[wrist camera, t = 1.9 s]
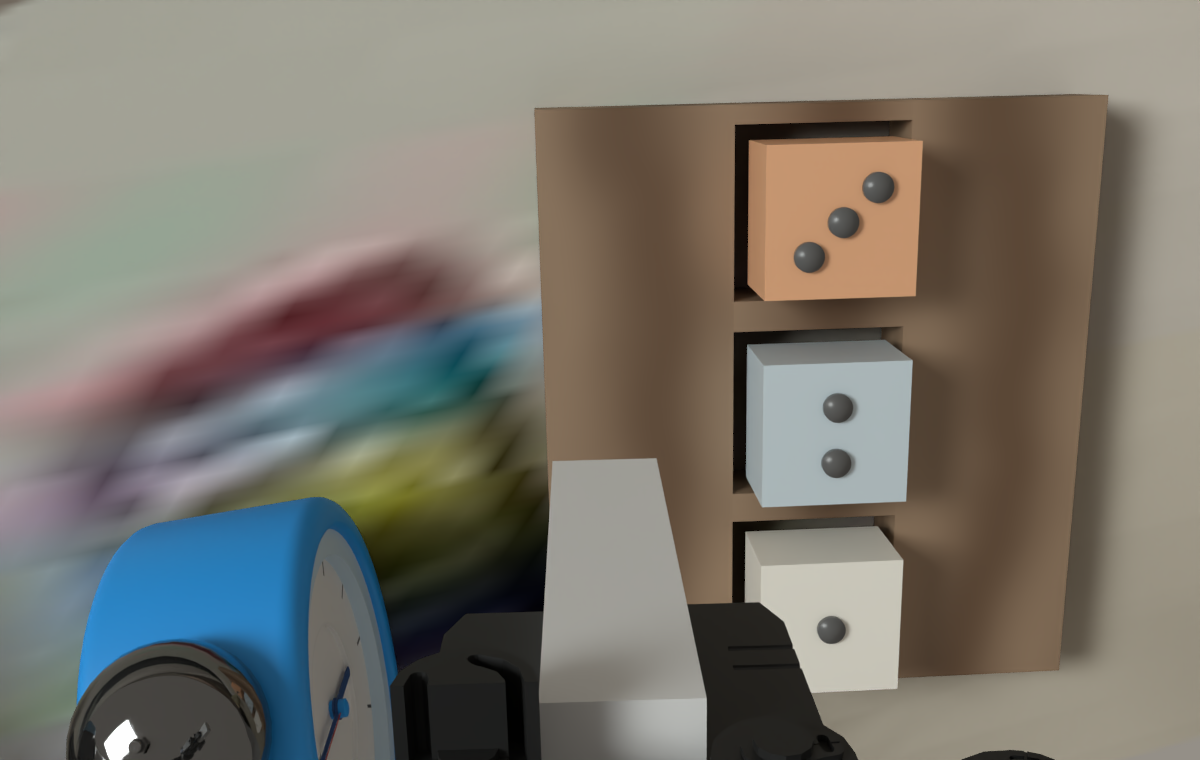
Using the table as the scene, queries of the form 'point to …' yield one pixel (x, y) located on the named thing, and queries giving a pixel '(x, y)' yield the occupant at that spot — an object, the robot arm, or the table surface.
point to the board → (911, 324)
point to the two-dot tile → (827, 422)
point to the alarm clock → (238, 643)
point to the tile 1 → (833, 217)
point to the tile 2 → (832, 601)
